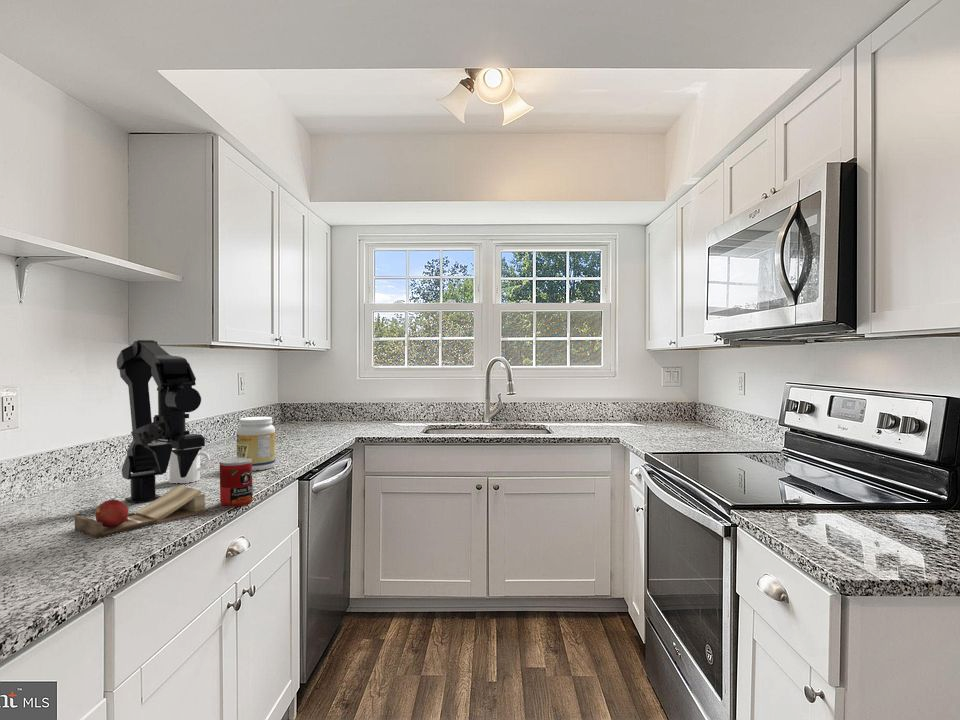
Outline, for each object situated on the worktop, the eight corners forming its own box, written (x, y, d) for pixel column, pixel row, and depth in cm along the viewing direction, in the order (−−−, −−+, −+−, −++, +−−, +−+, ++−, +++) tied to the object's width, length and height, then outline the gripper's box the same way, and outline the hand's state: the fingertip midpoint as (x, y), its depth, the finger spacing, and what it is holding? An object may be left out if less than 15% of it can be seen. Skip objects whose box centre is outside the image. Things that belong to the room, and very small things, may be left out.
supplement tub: (230, 468, 191) (229, 418, 191) (263, 463, 201) (263, 415, 200) (248, 473, 183) (247, 420, 183) (282, 467, 193) (281, 417, 193)
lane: (74, 530, 124) (74, 516, 124) (180, 506, 143) (179, 494, 143) (97, 538, 118) (97, 524, 118) (204, 512, 137) (203, 500, 137)
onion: (112, 492, 121) (141, 503, 128) (89, 498, 122) (119, 508, 129) (105, 519, 118) (135, 529, 125) (82, 525, 119) (113, 534, 126)
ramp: (135, 516, 134) (135, 493, 134) (183, 506, 143) (182, 484, 143) (157, 523, 128) (157, 499, 128) (205, 511, 138) (204, 489, 138)
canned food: (232, 508, 140) (232, 464, 140) (213, 504, 144) (212, 461, 144) (259, 501, 147) (258, 459, 147) (240, 498, 151) (239, 456, 151)
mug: (202, 484, 168) (202, 451, 168) (164, 484, 169) (163, 451, 169) (217, 478, 176) (216, 446, 176) (180, 478, 177) (179, 446, 177)
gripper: (116, 411, 135) (118, 477, 135) (156, 415, 124) (158, 486, 124) (164, 407, 144) (166, 469, 144) (205, 410, 133) (207, 477, 133)
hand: (173, 475), depth 136 cm, fingers open, 9 cm apart
